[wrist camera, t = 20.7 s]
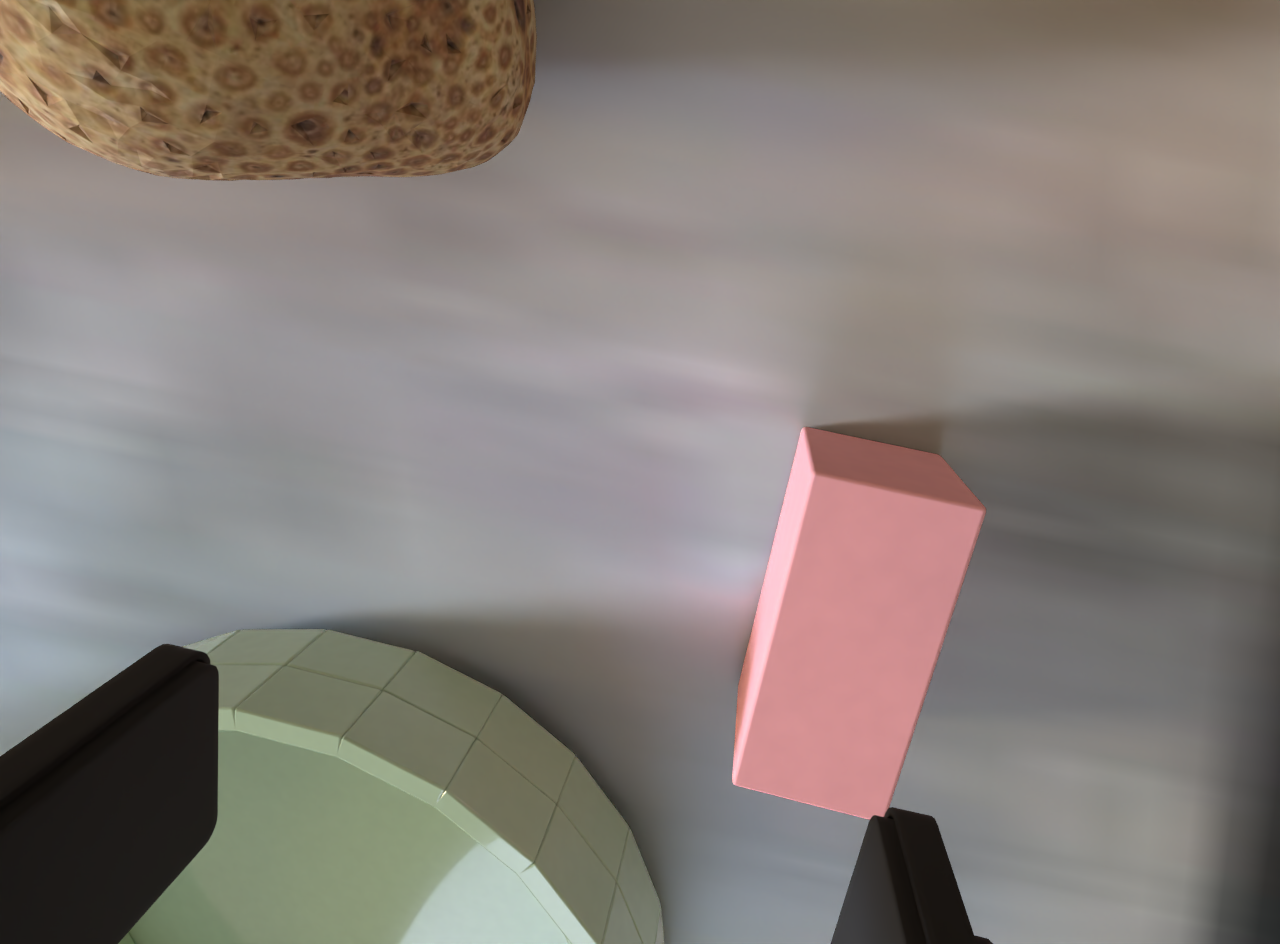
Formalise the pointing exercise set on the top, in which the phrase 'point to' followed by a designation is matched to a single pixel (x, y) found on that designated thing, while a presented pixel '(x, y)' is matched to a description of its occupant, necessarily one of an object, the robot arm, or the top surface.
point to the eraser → (851, 620)
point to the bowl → (394, 811)
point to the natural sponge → (274, 83)
